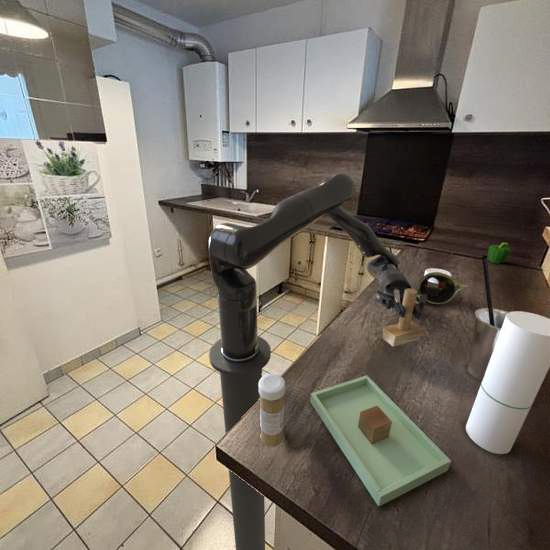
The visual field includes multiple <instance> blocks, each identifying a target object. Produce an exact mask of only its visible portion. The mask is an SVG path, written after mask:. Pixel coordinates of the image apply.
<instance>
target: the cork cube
mask: <svg viewBox="0 0 550 550" xmlns="http://www.w3.org/2000/svg"><path fill="white" fill-rule="evenodd" d="M391 424H392V421H391V420H390V419H389V418H388V417H387V416H386V414H385V413H384V412H383V411H382V410H381V409H380V408H379V407H378V406H374V407H372V408H369V409H366V410H364V411H361V412H360V417H359V423H358V428H359V429H360V430H361V432H362V433H363V434H364V435H365V437H366V438H367V439H368V441H369V442H370V443H371V444H374V443H376V442H378V441H381V440H383V439H385V438H388V437H389V433H390V429H391Z"/></svg>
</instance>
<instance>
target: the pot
mask: <svg viewBox="0 0 550 550" xmlns="http://www.w3.org/2000/svg"><path fill="white" fill-rule="evenodd" d="M430 278H434V279H436V280H437V281H438V284H437V289H438V290H439V289H441V290H440V291H439V292H438V293H437V294H435V295H432V294H431V293H429V292H428V291H427V288H428V282H429V281H428V280H429V279H430ZM469 286H470V284H465V283H461V282H459V281H458V280H455V278H453V277H450V276H449V275H447V274H444V273H441V272H432V273H428V274H426V275H425V276H424V275H423V276H422V277H421V278H420V279H419V281H418V283H417V286H416V287H415V289H414V290H416V291H417V292H418V293H417V295H419V296H420V295H422V294H427V299H426V302H428V303H430V304H435V305H442V304H446V303H448V302H450V301H452V299H454V297H455V296H456V294H457V293H458V292H459V291H460V290H463V289H464V287H469Z"/></svg>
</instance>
